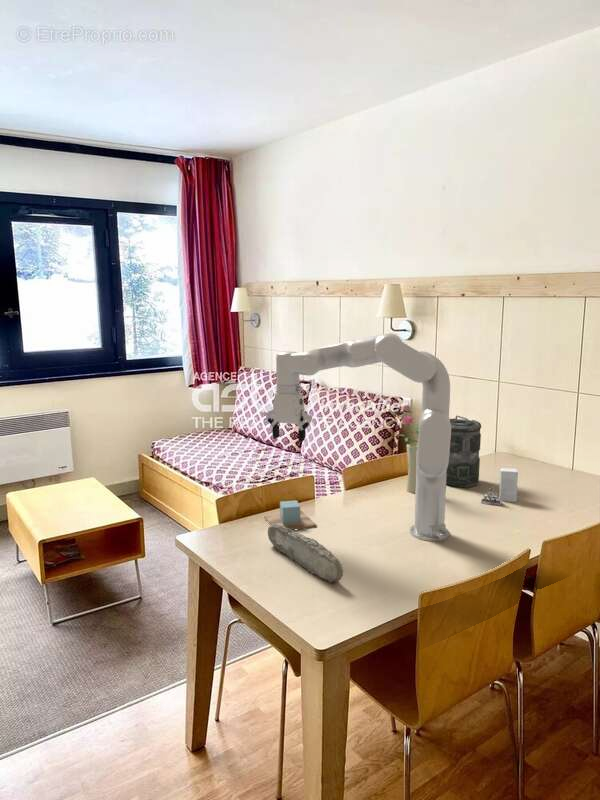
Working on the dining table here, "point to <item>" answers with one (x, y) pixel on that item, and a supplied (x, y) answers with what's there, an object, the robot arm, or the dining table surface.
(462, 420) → the canister
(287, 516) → the dusty teal cube
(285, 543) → the elongated rock
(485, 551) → the dining table surface
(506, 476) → the skincare box
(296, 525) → the post block
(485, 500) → the silver ball pyramid
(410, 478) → the flower vase
